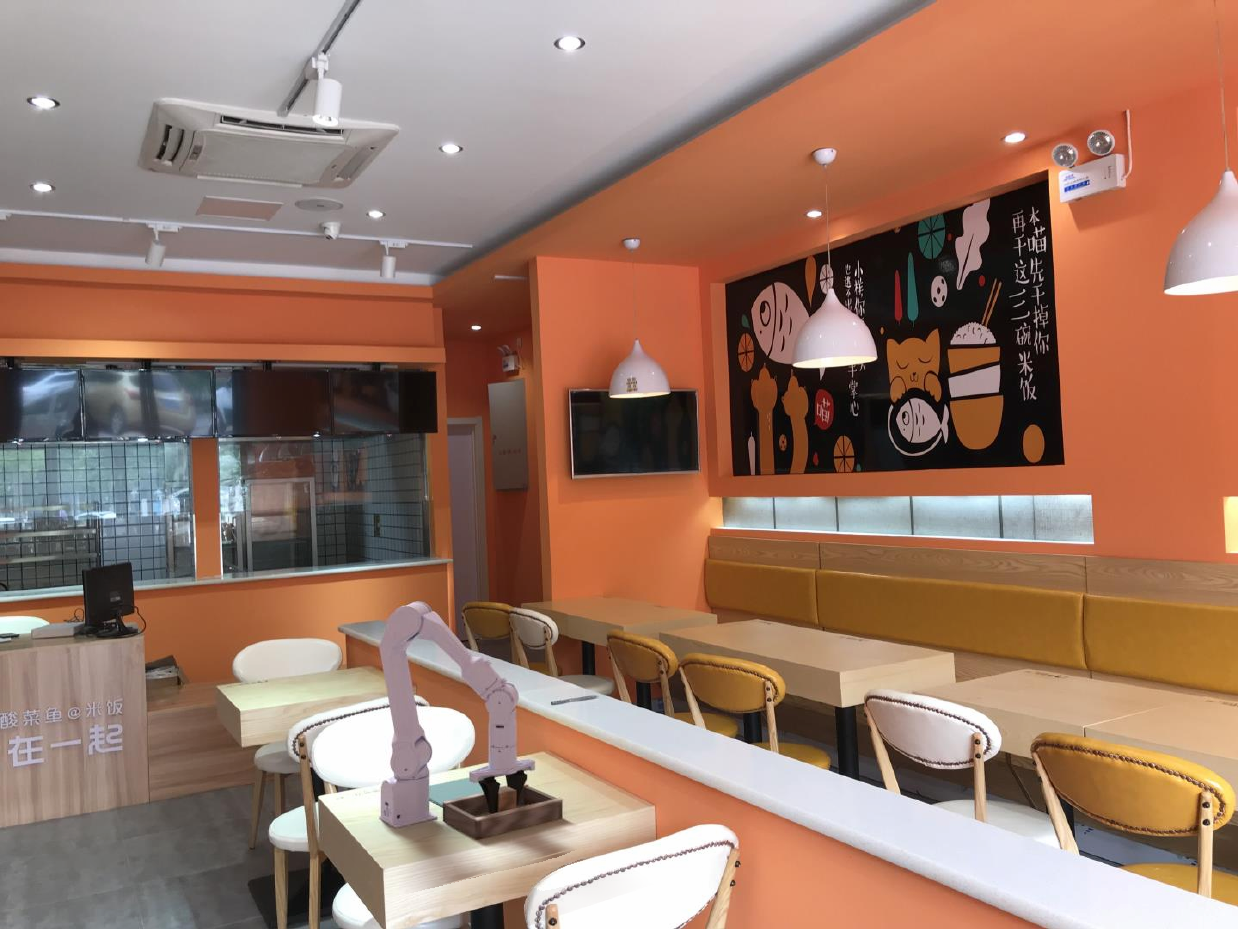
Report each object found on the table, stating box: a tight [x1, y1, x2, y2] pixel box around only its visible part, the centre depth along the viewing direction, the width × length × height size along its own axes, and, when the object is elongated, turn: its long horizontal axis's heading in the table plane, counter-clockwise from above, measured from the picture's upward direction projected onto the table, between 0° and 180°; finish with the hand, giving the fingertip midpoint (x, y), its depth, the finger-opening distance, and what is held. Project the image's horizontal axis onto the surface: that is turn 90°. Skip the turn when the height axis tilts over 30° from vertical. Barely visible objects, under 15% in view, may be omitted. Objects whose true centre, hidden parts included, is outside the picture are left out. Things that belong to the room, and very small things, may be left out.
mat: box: [429, 777, 484, 808], centre depth 216 cm, size 16×16×1 cm
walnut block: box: [488, 785, 516, 815], centre depth 198 cm, size 4×4×6 cm
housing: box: [442, 782, 564, 840], centre depth 198 cm, size 20×14×4 cm
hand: (502, 811), depth 198 cm, fingers closed on walnut block, 4 cm apart
